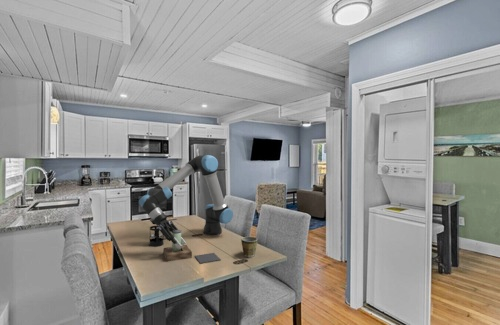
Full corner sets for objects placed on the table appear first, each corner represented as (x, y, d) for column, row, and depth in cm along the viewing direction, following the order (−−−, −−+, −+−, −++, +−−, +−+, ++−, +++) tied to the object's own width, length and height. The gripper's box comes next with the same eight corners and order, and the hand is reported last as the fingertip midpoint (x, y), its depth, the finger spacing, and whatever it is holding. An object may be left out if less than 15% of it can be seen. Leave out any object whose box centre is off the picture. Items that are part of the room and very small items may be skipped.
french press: (148, 247, 165) (149, 212, 166) (147, 243, 174) (147, 210, 174) (167, 245, 171) (168, 211, 171) (165, 241, 179) (165, 209, 179)
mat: (213, 253, 156) (213, 252, 156) (220, 260, 146) (220, 259, 146) (194, 256, 151) (194, 255, 151) (200, 263, 140) (200, 262, 140)
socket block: (186, 250, 161) (186, 244, 161) (191, 257, 149) (191, 251, 149) (163, 253, 155) (163, 247, 155) (167, 261, 143) (167, 255, 143)
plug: (179, 252, 156) (180, 229, 156) (181, 254, 151) (181, 231, 151) (171, 253, 153) (171, 230, 153) (172, 255, 149) (173, 232, 149)
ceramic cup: (259, 257, 151) (259, 240, 152) (243, 258, 149) (243, 242, 149) (252, 250, 164) (253, 234, 164) (238, 251, 161) (238, 235, 161)
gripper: (162, 217, 164) (185, 245, 161) (145, 224, 147) (170, 254, 143) (169, 210, 163) (192, 237, 160) (153, 215, 146) (179, 246, 142)
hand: (182, 245), depth 151 cm, fingers closed on plug, 5 cm apart
